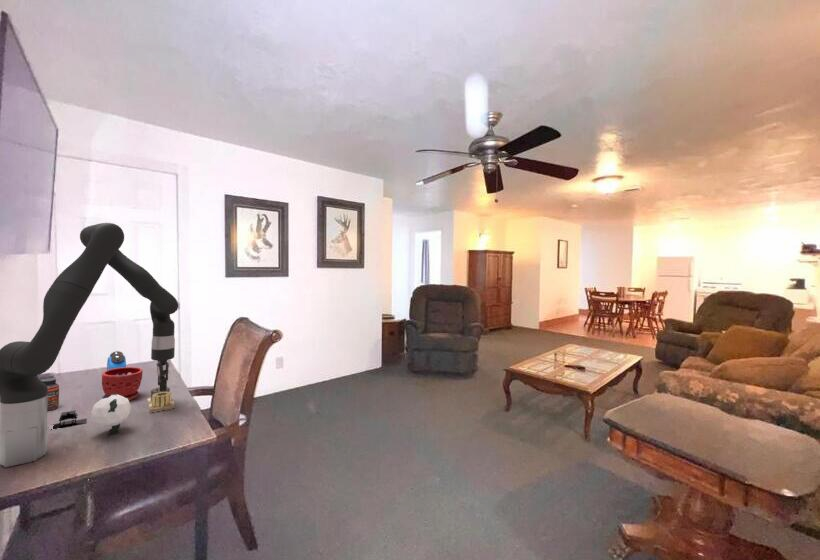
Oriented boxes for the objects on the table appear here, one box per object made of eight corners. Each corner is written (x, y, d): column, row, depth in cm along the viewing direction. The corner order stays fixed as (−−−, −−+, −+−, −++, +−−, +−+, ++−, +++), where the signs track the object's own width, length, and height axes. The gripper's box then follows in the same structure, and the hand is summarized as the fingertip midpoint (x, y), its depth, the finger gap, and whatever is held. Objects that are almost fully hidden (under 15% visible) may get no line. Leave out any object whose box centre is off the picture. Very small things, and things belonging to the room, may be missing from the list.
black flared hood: (41, 434, 116) (41, 420, 116) (44, 426, 122) (44, 413, 122) (92, 424, 124) (92, 411, 124) (92, 417, 130) (92, 405, 130)
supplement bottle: (44, 412, 131) (44, 382, 131) (31, 411, 132) (32, 381, 132) (62, 407, 137) (63, 377, 137) (51, 405, 138) (51, 376, 138)
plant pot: (99, 407, 138) (100, 377, 138) (103, 397, 149) (103, 368, 148) (141, 401, 146) (142, 372, 145) (142, 391, 156) (142, 364, 156)
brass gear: (171, 405, 139) (172, 395, 139) (152, 408, 135) (152, 398, 135) (170, 400, 144) (170, 390, 144) (151, 403, 140) (151, 393, 140)
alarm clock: (106, 382, 166) (107, 350, 166) (123, 380, 170) (124, 349, 170) (108, 390, 157) (109, 356, 156) (126, 387, 161) (127, 354, 161)
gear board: (174, 408, 139) (175, 393, 139) (149, 413, 134) (149, 397, 134) (170, 398, 150) (171, 384, 150) (147, 401, 145) (147, 387, 145)
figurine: (92, 426, 122) (93, 387, 122) (131, 419, 128) (131, 383, 128) (87, 448, 108) (87, 404, 108) (130, 439, 114) (131, 398, 114)
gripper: (176, 349, 136) (175, 391, 136) (172, 342, 147) (171, 381, 147) (152, 351, 131) (151, 394, 131) (150, 344, 142) (149, 384, 142)
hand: (162, 387), depth 139 cm, fingers open, 8 cm apart
